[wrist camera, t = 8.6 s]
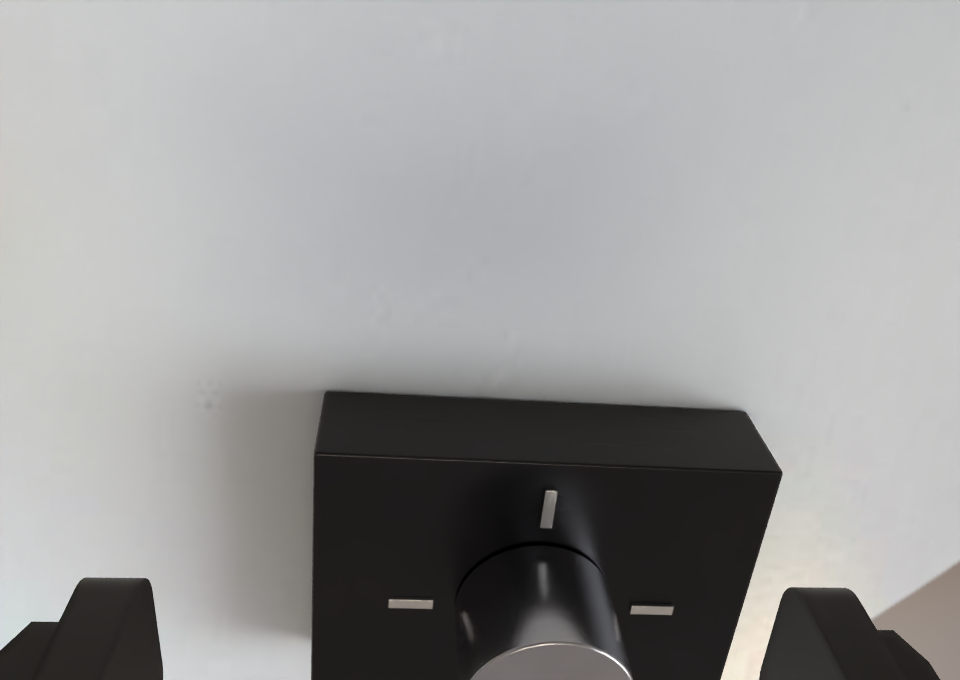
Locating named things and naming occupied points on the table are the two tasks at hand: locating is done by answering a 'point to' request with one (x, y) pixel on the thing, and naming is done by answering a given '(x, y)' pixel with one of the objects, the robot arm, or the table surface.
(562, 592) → the hob knob
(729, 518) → the dial base
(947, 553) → the table surface
